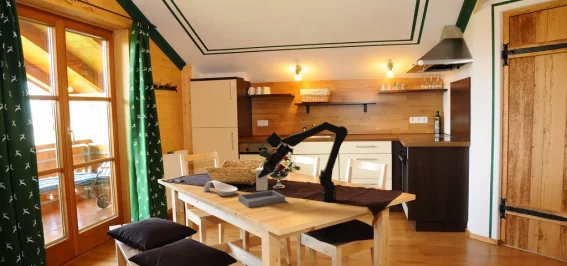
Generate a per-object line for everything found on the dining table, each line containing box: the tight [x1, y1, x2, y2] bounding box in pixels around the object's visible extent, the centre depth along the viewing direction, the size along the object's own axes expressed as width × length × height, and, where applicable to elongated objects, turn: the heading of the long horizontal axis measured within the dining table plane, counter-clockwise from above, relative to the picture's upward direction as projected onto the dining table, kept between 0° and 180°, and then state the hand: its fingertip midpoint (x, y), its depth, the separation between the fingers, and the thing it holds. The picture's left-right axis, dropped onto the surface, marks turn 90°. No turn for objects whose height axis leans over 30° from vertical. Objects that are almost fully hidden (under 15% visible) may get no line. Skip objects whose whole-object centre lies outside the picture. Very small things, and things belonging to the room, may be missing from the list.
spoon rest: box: [203, 179, 238, 197], centre depth 217 cm, size 24×12×7 cm, turn 54°
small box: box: [255, 167, 269, 191], centre depth 194 cm, size 8×6×10 cm
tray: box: [237, 190, 286, 209], centre depth 197 cm, size 20×16×3 cm
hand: (259, 176), depth 194 cm, fingers closed on small box, 8 cm apart
